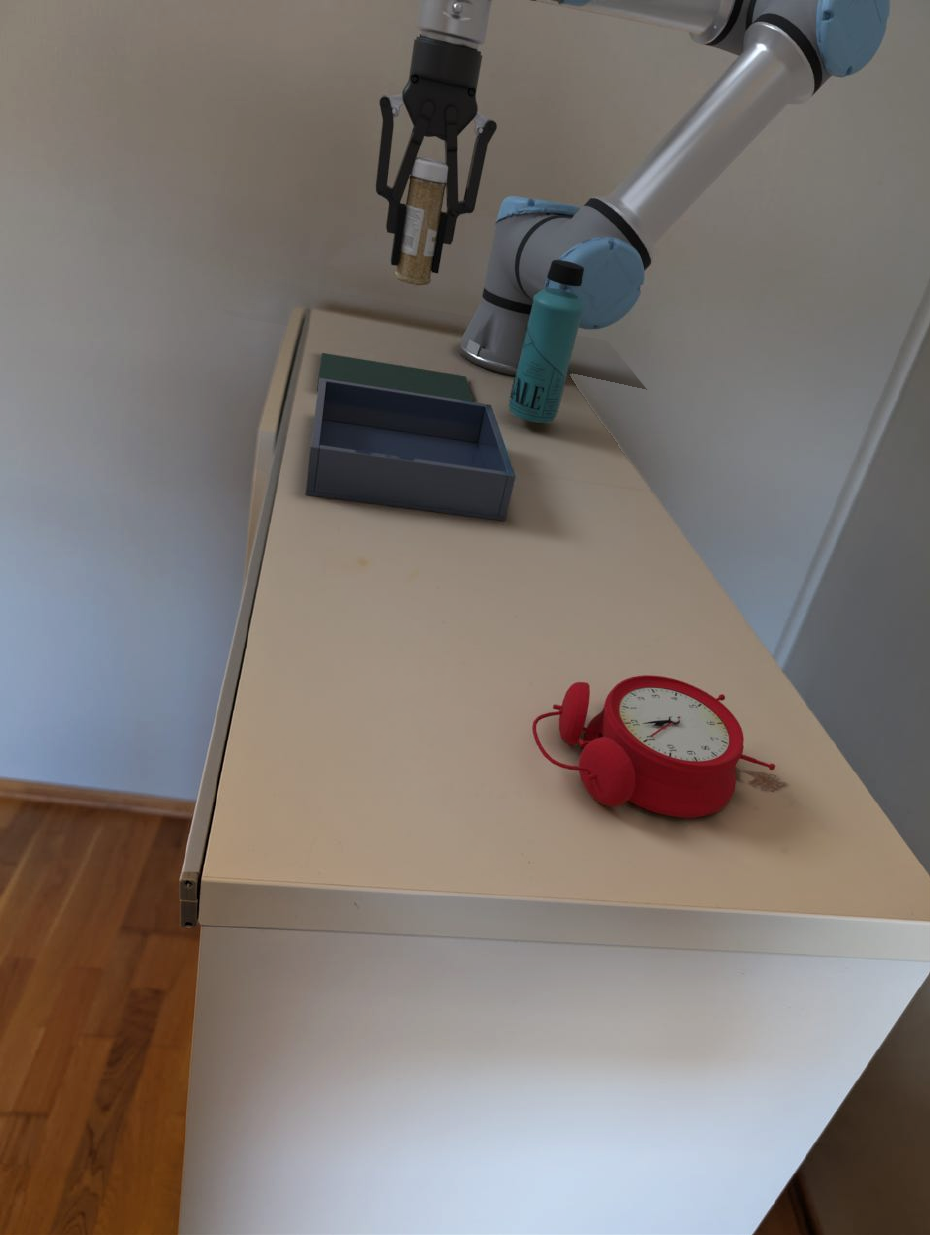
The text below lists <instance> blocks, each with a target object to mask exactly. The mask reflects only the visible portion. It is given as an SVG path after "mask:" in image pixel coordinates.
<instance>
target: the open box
mask: <svg viewBox="0 0 930 1235" xmlns="http://www.w3.org/2000/svg"><path fill="white" fill-rule="evenodd" d="M318 379H319V385H318V384H317V387H318V392H316V394H317V395H316V401H315V410H314V415H313V425H312V433H311V439H310V447H309V457H308V466H307V476H306V483H305V484H306V486H305V495H307V496H313V497H314V496H316V497H322V498H328V499H336V500H343V501H344V500H345V501H352V502H360V503H367V504H374V505H381V506H388V507H389V506H390V507H397V508H404V509H411V510H419V511H426V512H433V513H434V512H435V513H440V514H441V513H442V514H448V515H456V516H464V517H471V518H479V519H486V520H494V521H499V522H500V521H501V522H505V521H506V519H507V518H506V517H507V514H508V510H509V506H510V502H511V498H512V494H513V490H514V486H515V483H516V477H517V476H516V473H515V470H514V467H513V464H512V461H511V458H510V454H509V452H508V449H507V447H506V444H505V441H504V438H503V436H502V433H501V430H500V427H499V423H498V421H497V418H496V415H495V412H494V410H493V407H492V404H488V403H487V404H486V403H481V402H475V401H473V402H469V401H463V400H456V399H450V398H444V397H438V396H431V395H425V394H419V393H412V392H406V391H400V390H394V389H387V388H381V387H375V386H369V385H362V384H356V383H350V382H343V381H337V380H331V379H324V378H319V377H318Z"/></svg>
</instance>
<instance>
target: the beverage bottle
mask: <svg viewBox="0 0 930 1235" xmlns="http://www.w3.org/2000/svg"><path fill="white" fill-rule="evenodd" d="M583 273H584V268H583V267H582V266H580V265H578V264H575V263H572V262H568V261H563V260H553V261H552V263H551V267H550V270H549V272H548V275H547V278H548V279H550V280H552V281H554V282H557V283H560V284H564V285H569V286H581V284H582V278H583ZM583 312H584V306H583V304H582V302H581V300H580V299H579V297H578V296H577V295H576V294H574V293H571V292H568V291H565V290H561V289H555V288H545V289H543V290H541V291H540V292H538V293H537V294H536V295H535V296H534V297H533V305H532V309H531V313H530V314H529V315H530V318H529V321H528V325H527V328H526V329H527V330H525V332H526V333H525V337H523V339H524V340H523V341H524V343H523V341H522V343H523V344H522V345H523V347H522V351H521V350H520V352H521V356H520V358H519V359H520V360H519V359H518V360H519V361H518V362H519V364H518V363H517V366H518V369H517V368H516V369H517V373H516V375H515V376H514V378H513V385H512V386H511V390H510V394H509V399H508V401H507V402H508V406H509V407H508V409H509V412H510V413H511V414H512V415H514V416H516V417H518V418H520V419H521V420H525V421H528V422H532V423H539V424H549V423H552V422H554V420H555V419H556V417H557V415H558V413H559V411H560V410H559V409H560V408H561V406H560V405H561V403H562V396H563V395H564V393H563V392H564V388H565V384H566V380H567V378H568V372H569V367H570V366H569V365H570V362H571V359H572V354H573V350H574V347H575V343H576V339H577V335H578V331H579V329H580V328H579V324H580V321H581V317H582V313H583ZM528 317H529V316H528ZM527 320H528V319H527Z"/></svg>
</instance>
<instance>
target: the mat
mask: <svg viewBox="0 0 930 1235" xmlns="http://www.w3.org/2000/svg"><path fill="white" fill-rule="evenodd" d="M319 365H320V366H319V372H318V380H317V388H316V393H318V385H319V378H324V379H331V380H337V381H343V382H350V383H356V384H362V385H369V386H375V387H381V388H387V389H394V390H400V391H406V392H412V393H419V394H425V395H431V396H438V397H444V398H450V399H456V400H463V401H469V402H474V399H473V396H472V393H471V389H470V386H469V383H468V379H467V376H466V375H461V374H460V375H459V374H453V373H447V372H443V371H442V372H441V371H435V370H430V369H425V368H418V367H417V368H416V367H411V366H406V365H405V366H404V365H399V364H393V363H387V362H380V361H374V360H369V359H364V358H363V359H362V358H357V357H350V356H344V355H340V354H339V355H338V354H334V353H333V354H332V353H326V352H321V358H320V364H319Z"/></svg>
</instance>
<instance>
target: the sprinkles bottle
mask: <svg viewBox="0 0 930 1235" xmlns="http://www.w3.org/2000/svg"><path fill="white" fill-rule="evenodd" d="M447 173H448V167H447V164H446V163H445V162H443V161H440V160H437V159H433V158H429V157H422V156H417V157H416V160H415V162H414V165H413V168H412V171H411V174H410V176H409V183H408V189H407V190H408V191H407V196H406V202H405V206H406V211H405V218H404V225H403V231H402V238H401V245H400V252H399V259H398V265H397V266H396V270H395V272H394V277H395V279H397V280H399V281H401V282H403V283H406V284H409V285H415V286H426V285H430V283H431V281H432V279H431V275H432V271H431V269H432V263H433V257H434V254H435V247H436V241H437V235H438V229H439V223H440V217H441V212H442V209H443V204H444V198H445V192H446V183H447Z"/></svg>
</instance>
